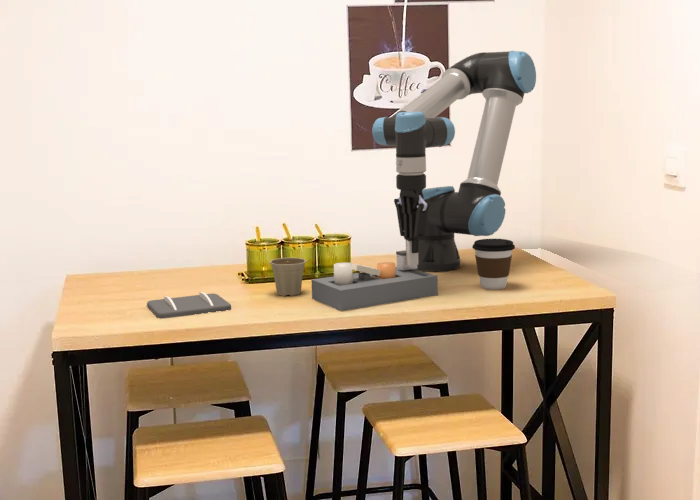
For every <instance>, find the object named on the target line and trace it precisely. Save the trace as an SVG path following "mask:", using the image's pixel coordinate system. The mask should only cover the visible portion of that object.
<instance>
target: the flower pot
mask: <svg viewBox="0 0 700 500" xmlns="http://www.w3.org/2000/svg"><path fill="white" fill-rule="evenodd" d="M305 263H307V260H306V259H304V258H301V257H281V258H274V259H271V260H269V264H270V265H271V269H272V271H273V277H274V283H275V284H274V285H275V289H276V294H277V295H278V296H283V297H286V296H297V295H300V294H301V293H302V284H303V275H304V274H303V273H304V269H305V265H306V264H305Z"/></svg>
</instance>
